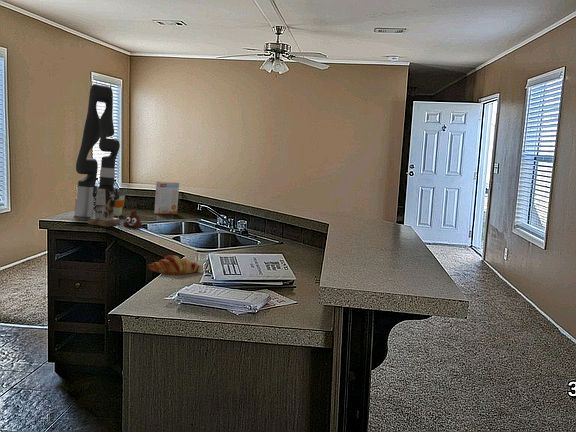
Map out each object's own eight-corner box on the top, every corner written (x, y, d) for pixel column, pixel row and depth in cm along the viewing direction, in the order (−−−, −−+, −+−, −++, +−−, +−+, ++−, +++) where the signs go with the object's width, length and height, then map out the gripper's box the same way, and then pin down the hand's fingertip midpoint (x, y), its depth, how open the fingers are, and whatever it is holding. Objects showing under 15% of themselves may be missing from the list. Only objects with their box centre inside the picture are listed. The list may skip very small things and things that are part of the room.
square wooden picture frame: (87, 223, 316) (88, 217, 315) (99, 221, 327) (99, 215, 327) (108, 226, 313) (109, 220, 313) (119, 224, 325) (120, 218, 325)
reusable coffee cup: (98, 213, 358) (99, 188, 356) (115, 212, 368) (116, 188, 366) (111, 216, 351) (113, 191, 349) (128, 215, 361) (130, 191, 359)
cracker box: (172, 213, 394) (174, 181, 392) (177, 214, 390) (179, 182, 387) (153, 213, 384) (156, 180, 382) (158, 214, 380) (160, 181, 378)
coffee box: (105, 219, 315) (107, 189, 313) (94, 218, 316) (96, 187, 314) (113, 217, 324) (116, 188, 322) (103, 216, 325) (105, 187, 323)
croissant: (198, 279, 233) (196, 259, 236) (207, 272, 225) (206, 252, 228) (144, 278, 223) (143, 258, 225) (152, 272, 215) (151, 250, 217)
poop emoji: (144, 226, 326) (145, 210, 324) (138, 228, 317) (140, 211, 316) (126, 224, 326) (127, 207, 325) (120, 226, 318) (122, 209, 317)
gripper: (91, 174, 315) (89, 205, 317) (116, 177, 312) (114, 208, 314) (98, 174, 322) (96, 204, 324) (122, 177, 320) (120, 207, 322)
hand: (105, 206), depth 319 cm, fingers open, 8 cm apart
